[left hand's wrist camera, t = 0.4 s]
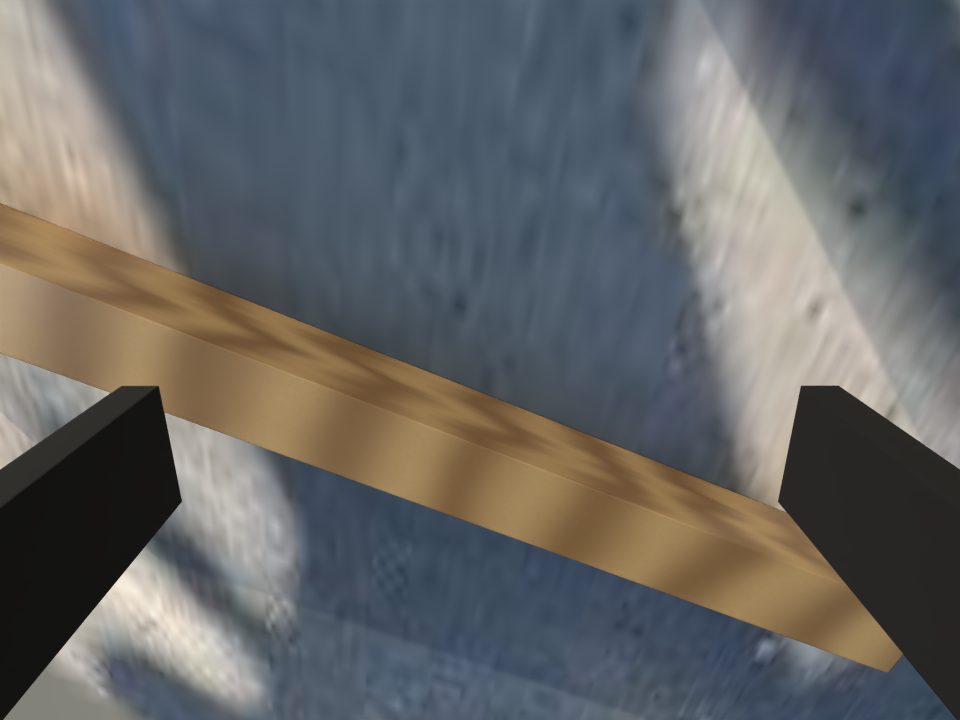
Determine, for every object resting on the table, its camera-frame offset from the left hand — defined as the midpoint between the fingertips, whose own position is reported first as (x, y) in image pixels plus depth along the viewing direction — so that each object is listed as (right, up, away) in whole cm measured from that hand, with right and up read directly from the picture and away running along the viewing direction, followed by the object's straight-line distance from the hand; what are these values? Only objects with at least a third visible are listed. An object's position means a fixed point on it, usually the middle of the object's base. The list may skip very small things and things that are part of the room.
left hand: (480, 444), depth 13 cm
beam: (-7, 0, +29) cm, 30 cm away
